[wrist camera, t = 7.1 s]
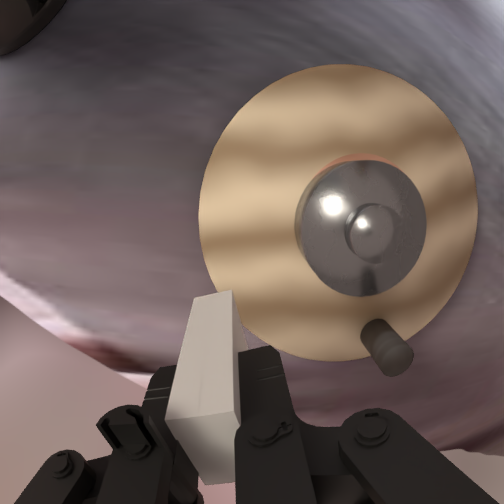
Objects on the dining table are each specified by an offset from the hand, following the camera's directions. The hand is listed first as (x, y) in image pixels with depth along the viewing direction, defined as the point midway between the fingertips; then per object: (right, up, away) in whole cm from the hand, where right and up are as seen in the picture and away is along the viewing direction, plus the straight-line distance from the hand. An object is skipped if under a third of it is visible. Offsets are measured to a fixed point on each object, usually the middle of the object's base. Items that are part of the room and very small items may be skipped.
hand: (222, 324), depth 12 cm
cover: (+9, +5, +12) cm, 16 cm away
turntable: (+10, +6, +14) cm, 18 cm away
